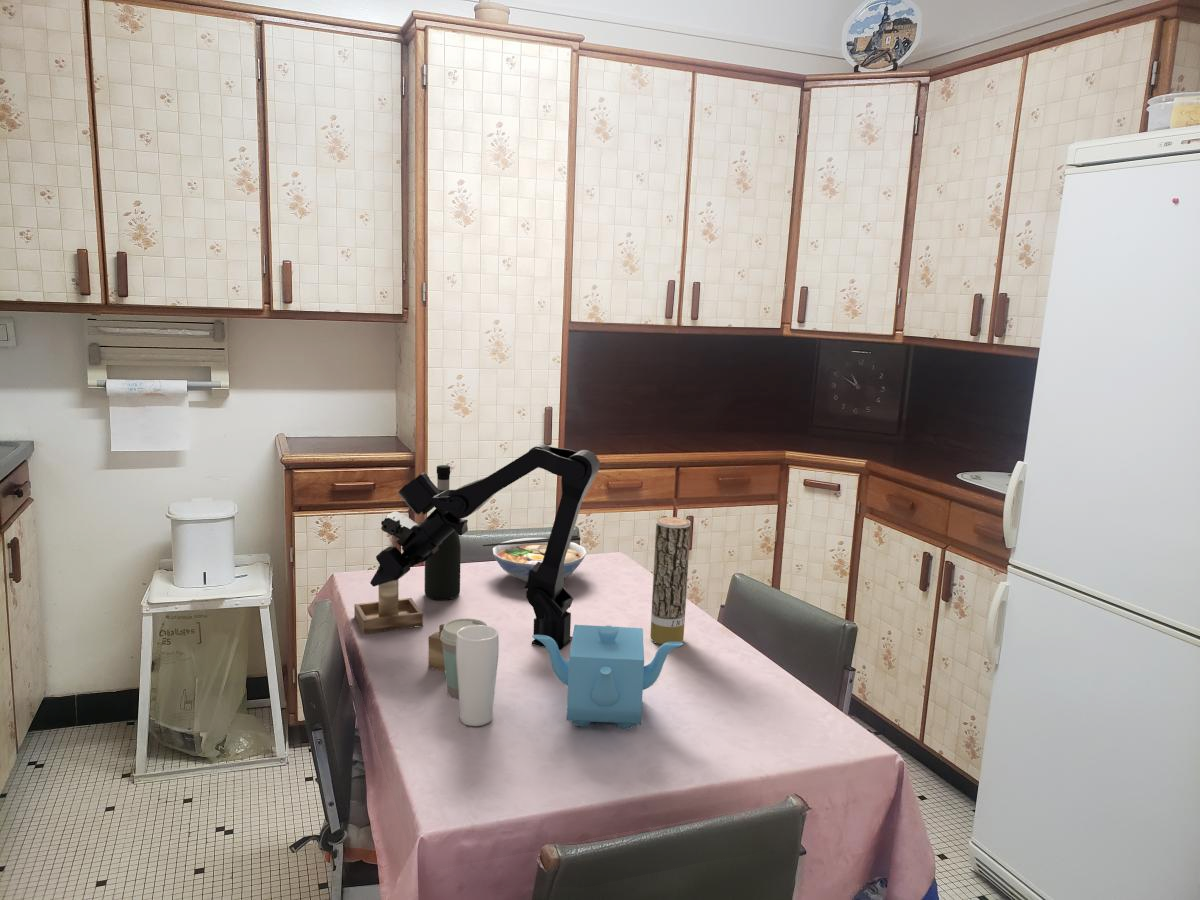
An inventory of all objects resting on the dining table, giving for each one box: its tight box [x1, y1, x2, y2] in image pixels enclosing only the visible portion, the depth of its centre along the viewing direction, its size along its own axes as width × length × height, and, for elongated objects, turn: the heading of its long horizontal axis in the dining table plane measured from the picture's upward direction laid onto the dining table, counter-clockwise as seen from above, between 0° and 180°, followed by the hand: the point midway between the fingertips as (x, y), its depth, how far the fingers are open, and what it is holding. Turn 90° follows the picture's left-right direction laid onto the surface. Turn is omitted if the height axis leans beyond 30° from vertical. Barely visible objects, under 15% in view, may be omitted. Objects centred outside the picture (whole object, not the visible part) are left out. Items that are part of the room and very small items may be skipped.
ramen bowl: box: [482, 534, 588, 583], centre depth 214 cm, size 25×23×8 cm
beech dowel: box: [377, 566, 399, 617], centre depth 183 cm, size 4×4×11 cm
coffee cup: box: [440, 618, 488, 700], centre depth 152 cm, size 8×9×12 cm
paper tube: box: [649, 516, 691, 646], centre depth 178 cm, size 7×7×25 cm
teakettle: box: [532, 624, 685, 729], centre depth 146 cm, size 19×19×15 cm
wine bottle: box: [423, 464, 462, 601], centre depth 199 cm, size 8×8×30 cm
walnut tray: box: [353, 597, 424, 635], centre depth 184 cm, size 12×10×3 cm
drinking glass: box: [456, 625, 500, 727], centre depth 142 cm, size 7×7×15 cm
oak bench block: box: [427, 623, 446, 672], centre depth 161 cm, size 3×10×8 cm, turn 68°
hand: (382, 577), depth 183 cm, fingers open, 9 cm apart
